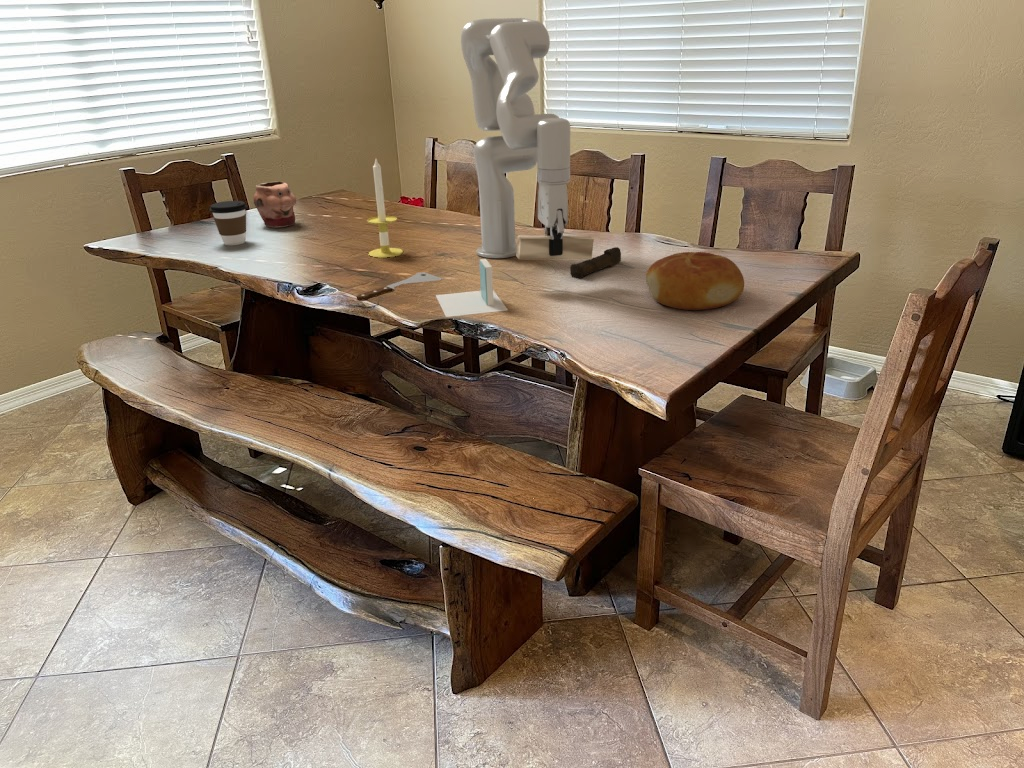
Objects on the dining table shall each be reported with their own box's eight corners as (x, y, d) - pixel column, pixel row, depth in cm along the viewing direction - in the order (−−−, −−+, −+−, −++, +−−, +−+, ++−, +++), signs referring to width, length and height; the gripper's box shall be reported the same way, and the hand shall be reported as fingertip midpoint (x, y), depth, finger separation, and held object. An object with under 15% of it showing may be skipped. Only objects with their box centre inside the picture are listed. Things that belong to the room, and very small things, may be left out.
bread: (621, 300, 181) (622, 258, 177) (679, 277, 196) (681, 237, 191) (706, 322, 166) (709, 277, 162) (762, 295, 181) (766, 253, 176)
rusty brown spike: (581, 280, 196) (581, 262, 194) (569, 277, 198) (569, 259, 196) (628, 264, 207) (629, 247, 206) (616, 262, 210) (617, 245, 208)
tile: (480, 296, 184) (478, 259, 180) (487, 295, 184) (485, 258, 181) (486, 305, 178) (485, 267, 174) (493, 305, 178) (492, 266, 174)
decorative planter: (244, 224, 264) (236, 183, 258) (274, 217, 273) (267, 177, 267) (280, 232, 253) (273, 188, 247) (310, 224, 261) (304, 182, 255)
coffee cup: (258, 238, 246) (252, 200, 241) (244, 247, 236) (237, 207, 231) (225, 238, 247) (218, 200, 242) (210, 247, 237) (202, 208, 232)
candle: (361, 256, 223) (349, 159, 212) (381, 247, 231) (372, 153, 220) (389, 259, 219) (379, 160, 207) (409, 250, 227) (401, 155, 215)
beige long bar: (516, 256, 187) (517, 235, 185) (587, 256, 191) (589, 236, 189) (519, 259, 184) (520, 238, 182) (591, 259, 188) (593, 239, 186)
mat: (435, 297, 186) (435, 295, 186) (493, 291, 189) (493, 289, 189) (446, 319, 172) (446, 317, 172) (508, 312, 175) (508, 310, 175)
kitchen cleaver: (376, 303, 182) (349, 293, 188) (377, 307, 183) (349, 297, 189) (450, 279, 199) (423, 270, 205) (450, 283, 199) (423, 274, 205)
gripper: (528, 170, 186) (530, 245, 194) (547, 183, 171) (547, 264, 179) (559, 168, 187) (559, 243, 195) (580, 180, 173) (579, 261, 181)
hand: (553, 252), depth 187 cm, fingers closed on beige long bar, 2 cm apart
